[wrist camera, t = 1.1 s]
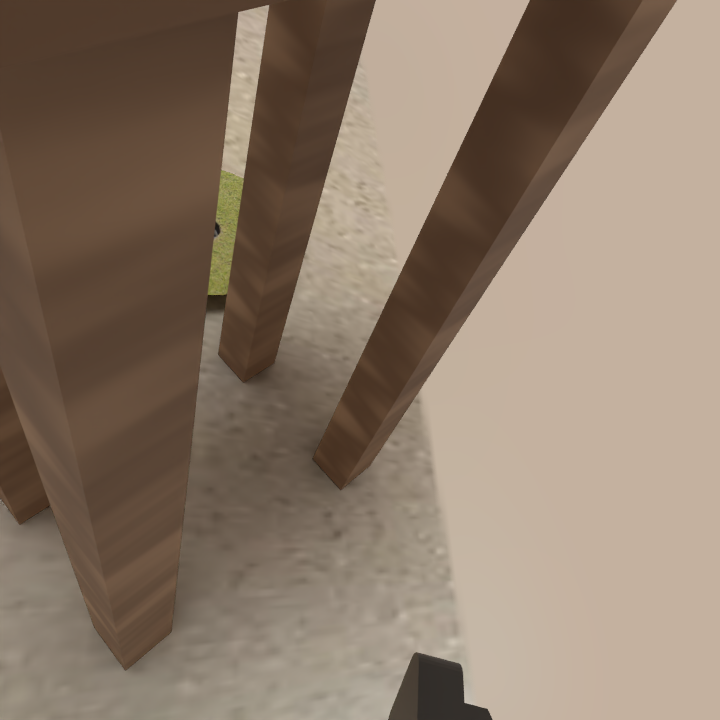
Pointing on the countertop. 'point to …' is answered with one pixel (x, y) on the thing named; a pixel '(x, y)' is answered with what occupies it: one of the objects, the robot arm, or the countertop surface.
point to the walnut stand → (251, 248)
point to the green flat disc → (225, 232)
